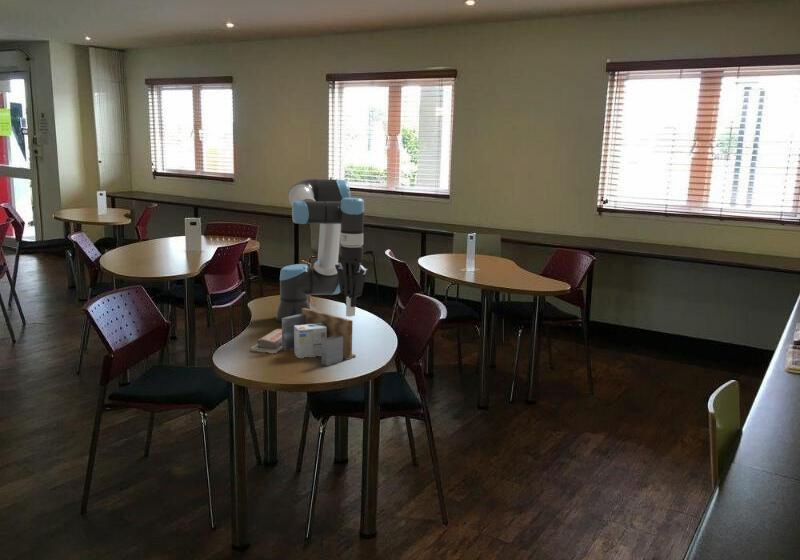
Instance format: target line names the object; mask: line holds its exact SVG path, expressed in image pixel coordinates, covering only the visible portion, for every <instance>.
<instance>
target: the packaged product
mask: <svg viewBox="0 0 800 560" xmlns="http://www.w3.org/2000/svg"><path fill="white" fill-rule="evenodd" d="M250 349H251V352H256V351H257V352H258V353H265V352H268V354H273V353H276V354H278V353H279V352H280V351H282V350H281V349H282V328H276V329H273V330H272V331H270V332H269V333H267V334H266V335H263V336H262V337H260V338H259V339H257V344H255V345H253V346H252V347H251V348H250ZM278 351H279V352H278ZM277 352H278V353H277Z"/></svg>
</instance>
